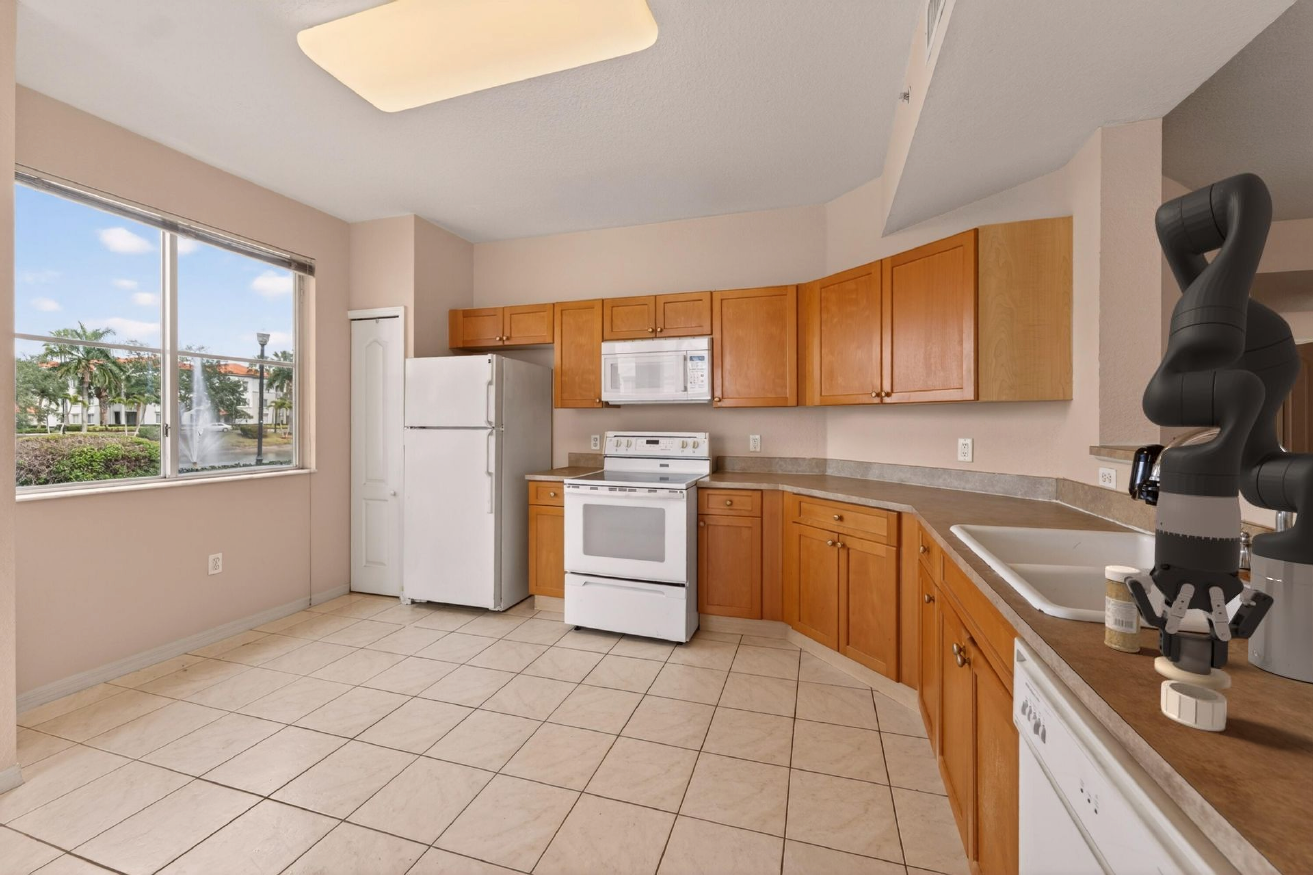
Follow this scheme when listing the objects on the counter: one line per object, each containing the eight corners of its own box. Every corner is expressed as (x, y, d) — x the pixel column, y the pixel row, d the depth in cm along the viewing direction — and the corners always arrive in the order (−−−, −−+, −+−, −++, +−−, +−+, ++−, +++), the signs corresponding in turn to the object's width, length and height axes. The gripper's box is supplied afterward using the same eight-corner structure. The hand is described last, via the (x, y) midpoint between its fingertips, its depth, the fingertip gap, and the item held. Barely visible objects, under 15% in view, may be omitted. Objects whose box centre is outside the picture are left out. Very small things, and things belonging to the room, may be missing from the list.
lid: (1186, 662, 71) (1187, 626, 71) (1247, 688, 64) (1248, 648, 64) (1140, 664, 70) (1141, 628, 70) (1197, 691, 63) (1198, 650, 63)
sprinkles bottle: (1143, 649, 87) (1145, 569, 87) (1134, 656, 85) (1136, 573, 84) (1108, 639, 91) (1110, 563, 91) (1099, 646, 89) (1101, 567, 88)
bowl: (1187, 705, 70) (1188, 679, 70) (1239, 730, 64) (1239, 702, 64) (1149, 707, 70) (1149, 681, 69) (1197, 732, 64) (1198, 704, 64)
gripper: (1134, 529, 66) (1130, 663, 67) (1295, 540, 60) (1289, 689, 60) (1114, 519, 73) (1111, 641, 73) (1257, 529, 67) (1253, 662, 67)
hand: (1192, 662), depth 67 cm, fingers closed on lid, 3 cm apart
